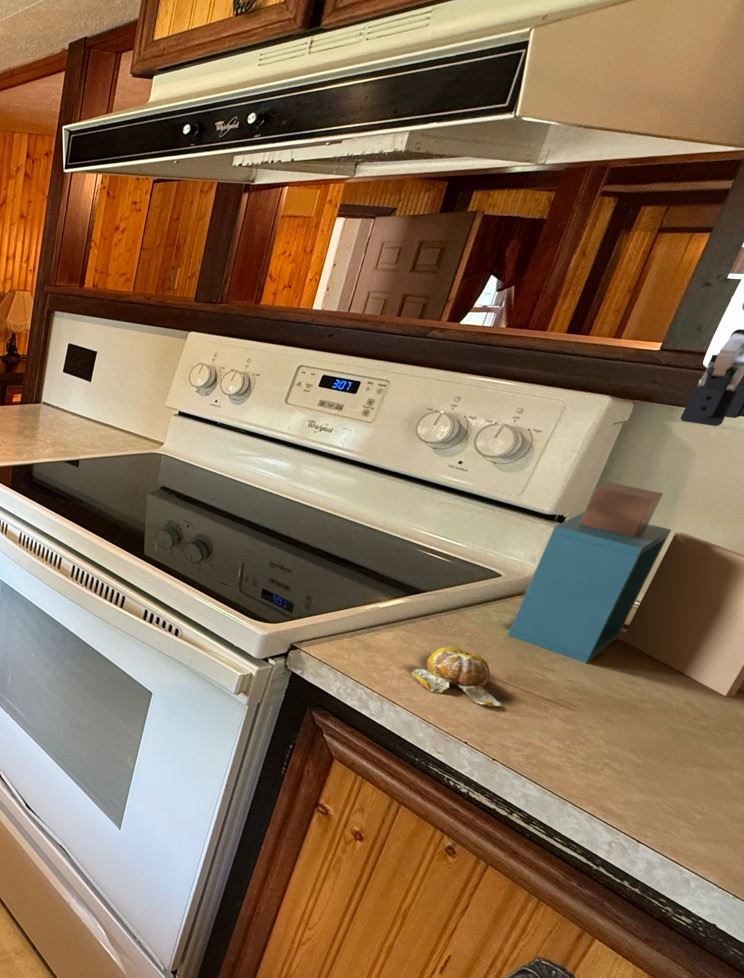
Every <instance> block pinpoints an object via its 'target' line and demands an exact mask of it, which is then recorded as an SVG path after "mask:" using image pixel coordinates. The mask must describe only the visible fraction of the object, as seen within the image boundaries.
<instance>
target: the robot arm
mask: <svg viewBox="0 0 744 978" xmlns="http://www.w3.org/2000/svg"><path fill="white" fill-rule="evenodd" d="M727 279H732V280H734V279H735V280H740V282H739V284H738V286H737V288H736V289H735V292H734V294H733V295H732V296H731V300H730V302H729V304H728V305H727V308H726V309H725V312H724V313H723V316H722V318H721V320H720V321H719V324H718V326H717V329H716V331H715V333H714V335H713V337H712V339H711V342H710V344H709V346H708V349H707V351H706V354H705V356H704V359H703V362H702V365H703V366H704V367H705V368H706V370H705V371H704V373H703V374H702V376H701V378H700V379H699V381H698V384H697V386H695V387H694V389H693V390H692V392H691V394H690V396H689V399H688V401H687V403H686V405H685V407H684V409H683V412H682V414H681V416H680V421H681V422H685V423H692V424H699V425H706V426H711V427H718V426H720V425H722V424H723V422H724V420H725V418H729V419H731V418H732V419H736V418H737V419H738V418H739V417H741V415H742V413H743V411H744V242H743V244H742V246H741V248H740V250H739V252H738V254H737V257H736V259H735V261H734V263H733V265H732V267H731V270H730V271H729V274H728V276H727Z"/></svg>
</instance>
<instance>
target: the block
mask: <svg viewBox="0 0 744 978" xmlns="http://www.w3.org/2000/svg"><path fill="white" fill-rule="evenodd" d="M662 496H663V492H658V491H653V490H648V489H643V488H639V487H634V486H628V485H624V484H620V483H616V482H615V483H614V482H610V481H607V482H606V483H603V484H601V485H599V486H596V487H595V489H594V491H593V494H592V495H591V498H590V500H589V502H588V504H587V507H586V509H585V511H584V512H585V514H584V516H583V518H582V520H581V523H580V525H584V526H588V527H592V528H596V529H600V530H604V531H608V532H612V533H616V534H620V535H624V536H628V537H633V538H634V537H635V536H637V535H638V534H640V533H642V532H643V531H645V529H646V527H647V525H648V524H650V521H651V519H652V517H653V515H654V513H655V511H656V509H657V507H658V504H659V502H660V501H661V498H662Z"/></svg>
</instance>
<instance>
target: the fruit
mask: <svg viewBox="0 0 744 978" xmlns="http://www.w3.org/2000/svg"><path fill="white" fill-rule="evenodd" d="M426 667H427V668H426V669H422V668H415V669H414V670H413V671H412V672H411V675H412V677H413V678H414V679H416V680H417V681H418V682H419V684H420V685H421V686H422V687H423V688H426V689H427V691H430V692H431V693H435V694H437V693H438V694H439V693H440V694H442V693H443V692H444V691H445V690H447V689H449V688H450V684H453V685H456V686H458V687H459V688H460V689H462V691H463V692H464V693H465V694H466V695H467V697H468V698H469V699H471V700H472V702H474V703H475V704H479V705H483V706H487V707H502V706H503V704H502V703H501V702H500V701H498V699H496V698H495V697H494V696H493V694H491V693H489V692H488V690H486V689H485V688H484V686H485V685H487V683H488V682H489V681H490V667H489V665H488V662H487V661H486V660H485V659H484V658H483V657H482V656H481V655H479V654H478V653H475V652H473V651H472V652H471V651H469V650H465V649H463V648H459V647H454V646H446V647H445V646H444V647H440V648H438V649H437V650H435V651H434V652H432V653H431V655H430V656H429V657H428V658H427V660H426Z"/></svg>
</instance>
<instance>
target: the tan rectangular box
mask: <svg viewBox="0 0 744 978" xmlns="http://www.w3.org/2000/svg"><path fill="white" fill-rule="evenodd" d="M621 641H622V642H624V643H626V644H628V645H629V646H631V647H633V648H635V649H637V650H639V651H641V652H643V653H644V654H646V655H648V656H650V657H652V658H653V659H656V660H657V661H659V662H661V663H663V664H665V665H667V666H669V668H670V667H671V668H672V669H673V670H674V669H675V670H676V671H678V672H680V673H681V674H683V675H685V676H687V677H689V678H690V679H692V680H695V681H696V682H698V683H700V684H702V685H704V686H706V687H707V688H709V689H711V690H713V691H715V692H716V693H718V694H720V695H722V696H724V697H730V698H731V697H732V698H734V697H735V696H736V694H737V693H738V690H739V689H740V687H741V685H742V683H743V682H744V554H742V553H739V552H737V551H734V550H731V549H728V548H726V547H723V546H720V545H718V544H715V543H712V542H709V541H706V540H703V539H702V538H698V537H695V536H693V535H691V534H689V533H688V534H687V533H685V532H675V533H674V535H673V537H672V539H671V540H670V543H669V545H668V546H667V549H666V551H665V553H664V555H663V556H662V559H661V560H660V563H659V565H658V566H657V568H656V571H655V572H654V574H653V576H652V578H651V580H650V582H649V585H648V586H647V588H646V590H645V592H644V594H643V596H642V598H641V601H640V602H639V605H638V606H637V608H636V610H635V612H634V614H633V616H632V618H631V620H630V622H629V624H628V626H627V629H626V630H625V632H624V634H623V636H622V638H621Z"/></svg>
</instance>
